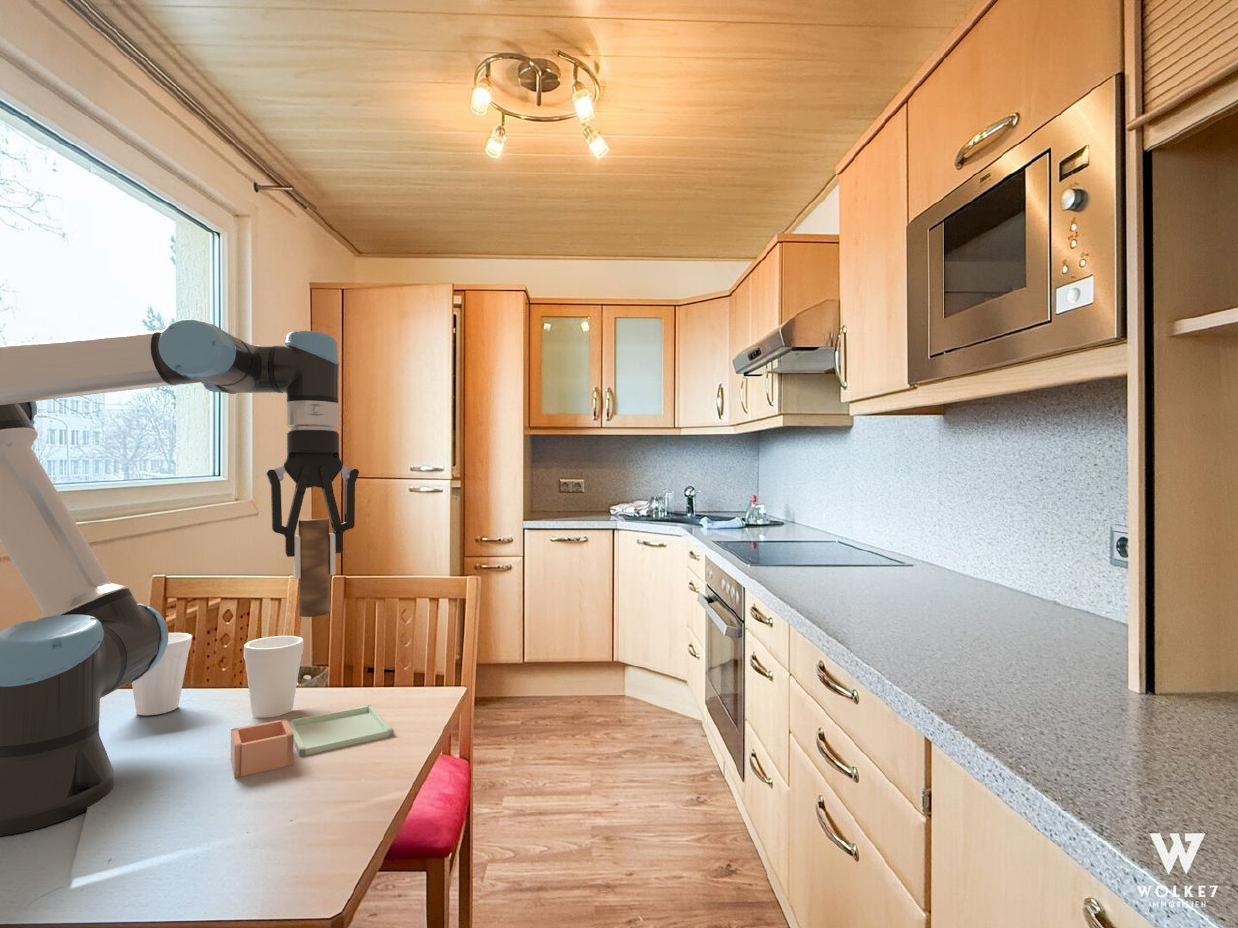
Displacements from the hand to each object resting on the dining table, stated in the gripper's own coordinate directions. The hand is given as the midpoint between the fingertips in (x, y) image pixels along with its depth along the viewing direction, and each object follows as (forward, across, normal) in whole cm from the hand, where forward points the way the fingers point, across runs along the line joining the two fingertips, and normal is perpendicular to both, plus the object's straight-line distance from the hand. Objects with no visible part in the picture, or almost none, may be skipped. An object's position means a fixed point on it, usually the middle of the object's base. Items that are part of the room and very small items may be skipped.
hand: (314, 575), depth 101 cm
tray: (+28, +4, +4) cm, 28 cm away
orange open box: (+27, -8, -3) cm, 28 cm away
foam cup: (+27, -5, +20) cm, 34 cm away
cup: (+27, -22, +32) cm, 47 cm away
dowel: (+6, 0, 0) cm, 6 cm away
